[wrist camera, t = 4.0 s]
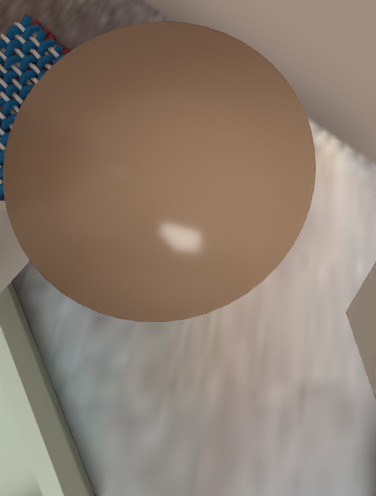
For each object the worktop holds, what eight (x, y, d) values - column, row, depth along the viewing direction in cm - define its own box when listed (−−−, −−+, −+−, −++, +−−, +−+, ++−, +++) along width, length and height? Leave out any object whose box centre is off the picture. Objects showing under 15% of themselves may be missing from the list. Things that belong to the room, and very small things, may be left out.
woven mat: (137, 118, 21) (130, 100, 19) (22, 225, 20) (2, 218, 18) (41, 26, 22) (25, 0, 20) (-69, 124, 22) (-97, 106, 20)
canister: (108, 215, 20) (-39, 100, 8) (212, 165, 20) (224, -26, 8) (157, 322, 18) (73, 380, 7) (266, 268, 19) (377, 230, 7)
